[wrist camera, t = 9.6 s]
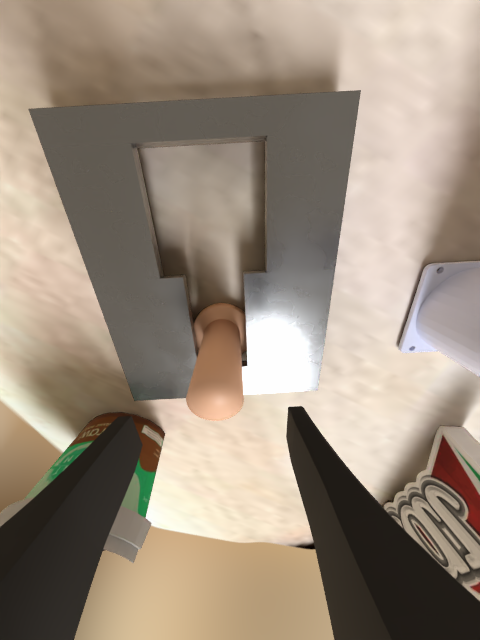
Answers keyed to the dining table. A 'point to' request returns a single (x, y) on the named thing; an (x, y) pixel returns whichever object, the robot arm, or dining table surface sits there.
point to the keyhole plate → (171, 291)
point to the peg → (218, 363)
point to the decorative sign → (446, 506)
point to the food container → (133, 509)
